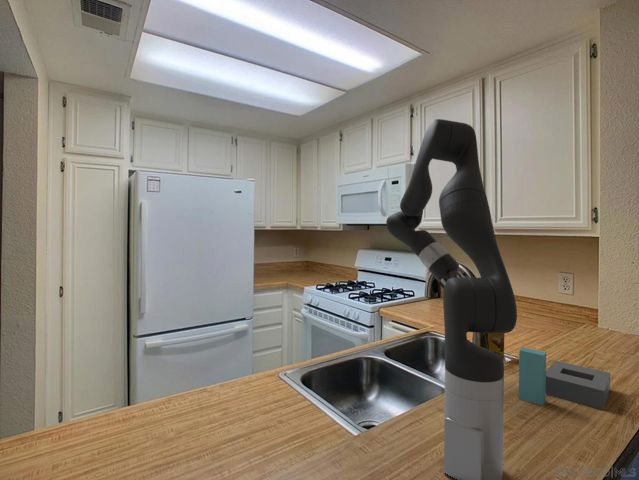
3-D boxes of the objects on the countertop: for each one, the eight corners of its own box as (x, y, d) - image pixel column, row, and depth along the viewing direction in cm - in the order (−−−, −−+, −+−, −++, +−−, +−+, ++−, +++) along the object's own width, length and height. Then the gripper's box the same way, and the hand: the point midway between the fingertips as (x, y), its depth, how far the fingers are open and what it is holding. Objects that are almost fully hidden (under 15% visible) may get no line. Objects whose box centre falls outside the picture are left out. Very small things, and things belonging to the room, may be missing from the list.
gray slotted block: (604, 410, 78) (604, 391, 78) (542, 392, 86) (543, 375, 86) (610, 390, 88) (610, 372, 88) (554, 376, 96) (554, 360, 96)
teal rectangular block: (542, 405, 80) (543, 355, 80) (518, 398, 84) (519, 350, 83) (545, 401, 82) (546, 352, 82) (522, 394, 86) (522, 347, 85)
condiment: (505, 363, 106) (505, 325, 106) (475, 358, 110) (475, 321, 110) (505, 355, 112) (506, 319, 112) (477, 351, 116) (477, 316, 116)
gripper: (435, 254, 92) (479, 302, 84) (457, 251, 102) (498, 294, 94) (417, 271, 96) (457, 319, 88) (440, 267, 106) (478, 310, 98)
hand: (478, 306), depth 91 cm, fingers open, 8 cm apart
